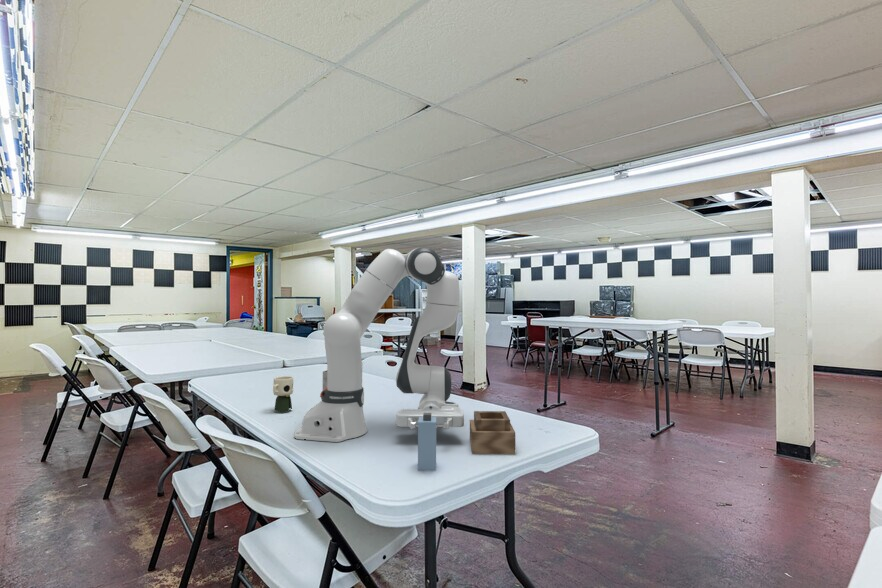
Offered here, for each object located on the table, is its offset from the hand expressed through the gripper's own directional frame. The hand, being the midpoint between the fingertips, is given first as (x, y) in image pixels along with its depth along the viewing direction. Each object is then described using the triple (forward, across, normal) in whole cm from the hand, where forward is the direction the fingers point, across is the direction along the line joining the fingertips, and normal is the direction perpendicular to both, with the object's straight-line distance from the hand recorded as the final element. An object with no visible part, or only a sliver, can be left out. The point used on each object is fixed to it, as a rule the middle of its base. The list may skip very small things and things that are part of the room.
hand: (429, 426), depth 116 cm
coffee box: (-41, -38, +7) cm, 56 cm away
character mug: (-41, -58, +7) cm, 71 cm away
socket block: (-4, +18, +7) cm, 20 cm away
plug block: (+11, 0, +7) cm, 13 cm away
